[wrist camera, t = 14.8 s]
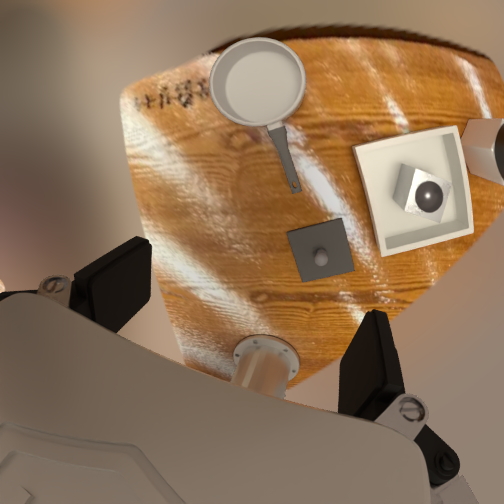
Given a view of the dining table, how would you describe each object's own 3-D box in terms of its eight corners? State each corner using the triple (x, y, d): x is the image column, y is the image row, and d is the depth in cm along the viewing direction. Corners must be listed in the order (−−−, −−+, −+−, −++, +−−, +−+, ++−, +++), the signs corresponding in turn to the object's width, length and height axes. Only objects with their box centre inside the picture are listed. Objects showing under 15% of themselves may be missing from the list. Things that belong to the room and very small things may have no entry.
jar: (487, 189, 29) (533, 211, 18) (450, 157, 29) (494, 168, 18) (508, 141, 25) (556, 149, 14) (472, 106, 25) (519, 102, 14)
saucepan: (261, 196, 39) (251, 206, 34) (213, 69, 33) (196, 60, 28) (341, 174, 35) (344, 180, 30) (290, 39, 29) (284, 24, 24)
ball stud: (354, 269, 39) (356, 281, 36) (302, 280, 42) (300, 293, 39) (341, 217, 37) (343, 226, 33) (287, 231, 40) (283, 241, 36)
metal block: (433, 174, 30) (453, 183, 24) (423, 209, 33) (440, 224, 27) (401, 163, 31) (416, 169, 25) (392, 198, 33) (404, 211, 27)
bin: (460, 222, 32) (473, 232, 28) (376, 244, 37) (381, 257, 33) (443, 125, 28) (456, 125, 24) (351, 146, 33) (354, 147, 29)
